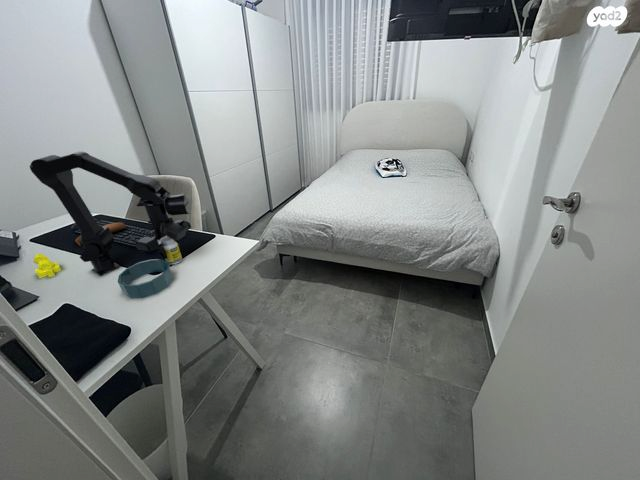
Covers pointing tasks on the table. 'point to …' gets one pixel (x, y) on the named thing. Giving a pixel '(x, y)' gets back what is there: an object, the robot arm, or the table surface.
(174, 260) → the supplement bottle
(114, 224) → the sunglasses case
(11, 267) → the table surface
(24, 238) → the table surface
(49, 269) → the crumpled paper
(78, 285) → the table surface
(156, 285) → the teal ring-shaped band
